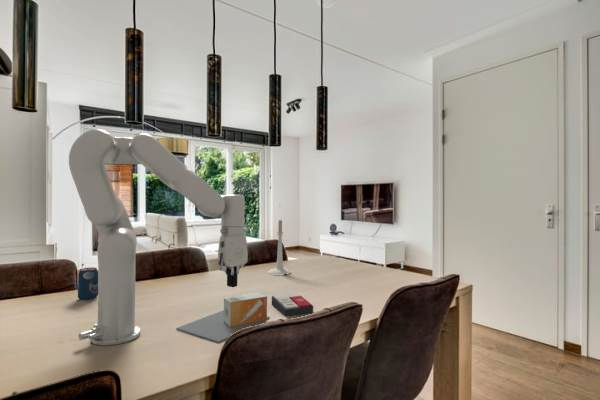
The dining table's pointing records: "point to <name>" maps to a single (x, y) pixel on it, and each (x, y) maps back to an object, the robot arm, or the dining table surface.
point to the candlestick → (279, 255)
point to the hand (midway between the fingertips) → (232, 286)
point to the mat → (213, 327)
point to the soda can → (87, 284)
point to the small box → (245, 309)
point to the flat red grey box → (291, 304)
